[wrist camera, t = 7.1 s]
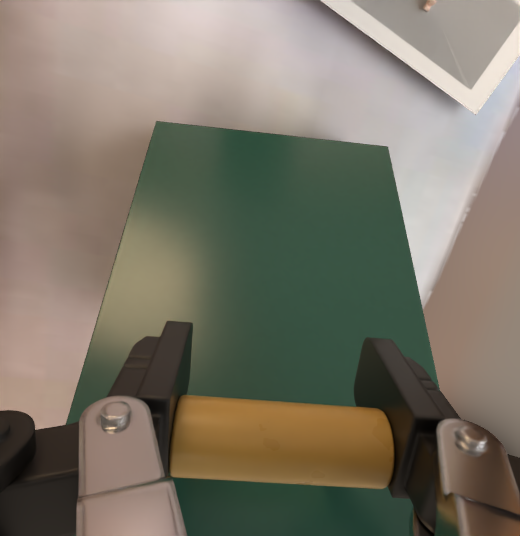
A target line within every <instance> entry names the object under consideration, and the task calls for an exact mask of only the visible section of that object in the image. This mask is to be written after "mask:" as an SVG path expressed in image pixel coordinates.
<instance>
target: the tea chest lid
mask: <svg viewBox="0 0 520 536" xmlns="http://www.w3.org/2000/svg"><path fill="white" fill-rule="evenodd" d="M167 321H178V322H190V323H192V324H193V333H192V350H191V367H190V379H189V386H188V392H187V395H182V396H180V398H179V400H178V403H177V406H176V411H175V416H174V421H173V427H172V435H171V443H170V453H169V475H168V476H171V477H172V479H173V482H174V485H175V489H176V493H177V497H178V501H179V505H180V509H181V513H182V517H183V521H184V525H185V529H186V533H187V536H409V517H410V514H411V511H412V507H413V504H412V502H411V499H405V498H392V496H391V493H390V491H389V488H388V485H389V483H390V481H391V479H392V475H393V470H394V460H395V450H394V440H393V434H392V429H391V426H390V423H389V420H388V418H387V416H386V414H385V413H384V412H383V411H382V410H380V409H378V408H366V407H357V406H356V403H355V399H354V382H355V377H356V373H357V368H358V363H359V359H360V354H361V349H362V345H363V342H364V340H365V338H367V337H369V338H382V339H392V340H393V341H394V342H395V344H396V345H397V347H398V348H399V350H400V351H401V353H402V354H403V356H404V357H410V358H411V359H413V360H414V361H415V362H417V363H418V364H419V365H421V366H422V367H423V368H424V369H425V370H426V372H427V373H428V375H429V376H430V377H431V379H432V381H434V383H435V384H436V385H437V387H438V388H439V384H438V380H437V375H436V370H435V365H434V361H433V356H432V351H431V347H430V342H429V337H428V333H427V329H426V324H425V319H424V314H423V309H422V305H421V300H420V295H419V291H418V286H417V281H416V276H415V272H414V267H413V262H412V258H411V253H410V248H409V244H408V239H407V234H406V230H405V225H404V220H403V216H402V211H401V206H400V201H399V197H398V192H397V187H396V183H395V178H394V173H393V169H392V164H391V159H390V155H389V150H388V147H387V146H378V145H369V144H360V143H351V142H342V141H332V140H323V139H314V138H305V137H296V136H287V135H278V134H269V133H260V132H251V131H242V130H233V129H224V128H215V127H206V126H197V125H188V124H179V123H169V122H160V121H156V124H155V127H154V130H153V134H152V137H151V140H150V144H149V147H148V150H147V154H146V157H145V160H144V164H143V167H142V171H141V174H140V177H139V181H138V184H137V187H136V191H135V194H134V197H133V201H132V204H131V207H130V211H129V214H128V217H127V221H126V224H125V228H124V231H123V234H122V238H121V241H120V244H119V248H118V251H117V254H116V258H115V261H114V264H113V268H112V271H111V275H110V278H109V281H108V285H107V288H106V291H105V295H104V298H103V301H102V305H101V308H100V311H99V315H98V318H97V321H96V325H95V328H94V332H93V335H92V338H91V342H90V345H89V348H88V352H87V355H86V358H85V362H84V365H83V368H82V372H81V375H80V379H79V382H78V385H77V389H76V392H75V395H74V399H73V402H72V405H71V409H70V412H69V415H68V419H67V422H66V425H68V424H72V423H75V422H78V421H79V420H80V417H81V414H82V413H83V412H84V410H85V409H86V408H87V407H89V406H90V405H91V404H93V403H95V402H96V401H99V400H101V399H104V398H106V397H107V395H108V394H109V392H110V390H111V388H112V386H113V384H114V382H115V380H116V378H117V376H118V374H119V373H120V371H121V369H122V367H123V366H124V363H125V361H126V359H127V358H128V355H129V353H130V351H131V350H132V348H133V346H134V344H136V343H137V342H139V341H140V340H141V339H143V338H144V337H146V336H153V337H160V336H161V333H162V331H163V329H164V326H165V324H166V322H167ZM439 391H440V390H439ZM74 536H76V535H74Z"/></svg>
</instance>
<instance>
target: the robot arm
mask: <svg viewBox="0 0 520 536" xmlns="http://www.w3.org/2000/svg"><path fill="white" fill-rule="evenodd" d="M192 333H193V324H192V323H190V322H178V321H167V322H166V324H165V326H164V329H163V331H162V333H161V336H160V337H153V336H146V337H144V338H143V339H141V340H140V341H139V342H137V343H136V344H134V346H133V348H132V350H131V351H130V353H129V355H128V358H127V359H126V361H125V363H124V366H123V367H122V369H121V371H120V373H119V374H118V376H117V378H116V380H115V382H114V384H113V386H112V388H111V390H110V392H109V394H108V395H107V397H106V398H104V399H101V400H99V401H96V402H95V403H93V404H91V405H90V406H89V407H87V408H86V409H85V410H84V412H83V413H82V414H81V417H80V420H79V421H78V422H75V423H72V424H68V425H63V426H57V427H51V428H44V429H38V430H35V424H34V421H33V419H32V418H31V417H30V416H29V415H27V414H26V413H23V412H20V411H12V410H6V411H0V536H74V535H76V536H187V533H186V529H185V525H184V521H183V517H182V513H181V509H180V505H179V501H178V497H177V493H176V489H175V485H174V482H173V479H172V477H171V476H168V475H169V453H170V443H171V435H172V427H173V421H174V416H175V411H176V406H177V403H178V400H179V398H180V396H182V395H187V392H188V386H189V379H190V367H191V350H192ZM354 399H355V403H356V406H357V407H366V408H378V409H380V410H382V411H383V412H384V413H385V414H386V416H387V418H388V420H389V423H390V426H391V429H392V434H393V440H394V450H395V460H394V470H393V475H392V479H391V481H390V483H389V485H388V488H389V491H390V493H391V496H392V498H405V499H411V502H412V504H413V507H412V511H411V514H410V517H409V536H520V458H518V457H515V456H511V455H509V454H507V453H506V451H505V448H504V446H503V445H502V443H501V442H500V441H499V440H498V439H497V438H496V437H495V436H494V435H493V434H491V433H490V432H489V431H487V430H486V429H484V428H482V427H480V426H478V425H476V424H474V423H472V422H469V421H465V420H461V418H460V417H459V416H458V414H457V413H456V411H455V410H454V409H453V407H452V406H451V405H450V403H449V402H448V401H447V399H446V398H445V396H444V395H443V394H442V392H441V391H439V388H438V387H437V385H436V384H435V383H434V381H432V379H431V377H430V376H429V375H428V373H427V372H426V370H425V369H424V368H423V367H422V366H421V365H419V364H418V363H417V362H415V361H414V360H413V359H411V358H410V357H404V356H403V354H402V353H401V351H400V350H399V348H398V347H397V345H396V344H395V342H394V341H393V340H392V339H382V338H369V337H367V338H365V340H364V342H363V345H362V349H361V354H360V359H359V363H358V368H357V373H356V377H355V382H354Z"/></svg>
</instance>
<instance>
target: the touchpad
mask: <svg viewBox="0 0 520 536" xmlns="http://www.w3.org/2000/svg"><path fill="white" fill-rule="evenodd" d="M320 1H322V2H323V3H324V4H326V5H327V6H328V7H330V8H331V9H333V10H334V11H335V12H337V13H338V14H339V15H341V16H342V17H343V18H345V19H346V20H347V21H349V22H350V23H352V24H353V25H354V26H356V27H357V28H358V29H360V30H361V31H362V32H364V33H365V34H367V35H368V36H369V37H371V38H372V39H373V40H375V41H376V42H377V43H379V44H380V45H381V46H383V47H384V48H386V49H387V50H388V51H390V52H391V53H392V54H394V55H395V56H396V57H398V58H399V59H401V60H402V61H403V62H405V63H406V64H407V65H409V66H410V67H411V68H413V69H414V70H415V71H417V72H418V73H420V74H421V75H422V76H424V77H425V78H426V79H428V80H429V81H430V82H432V83H433V84H435V85H436V86H437V87H439V88H440V89H441V90H443V91H444V92H445V93H447V94H448V95H449V96H451V97H452V98H454V99H455V100H456V101H458V102H459V103H460V104H462V105H463V106H464V107H466V108H467V109H469V110H470V111H471V112H473V113H474V114H475V115H476V114H477V113H478V112H479V110H480V109H481V108H482V106H483V105H484V103H485V102H486V101H487V99H488V98H489V97H490V95H491V94H492V92H493V91H494V90H495V88H496V87H497V86H498V84H499V83H500V81H501V80H502V79H503V77H504V76H505V74H506V73H507V72H508V70H509V69H510V68H511V66H512V65H513V63H514V62H515V61H516V59H517V58H518V57H519V55H520V0H320Z"/></svg>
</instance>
